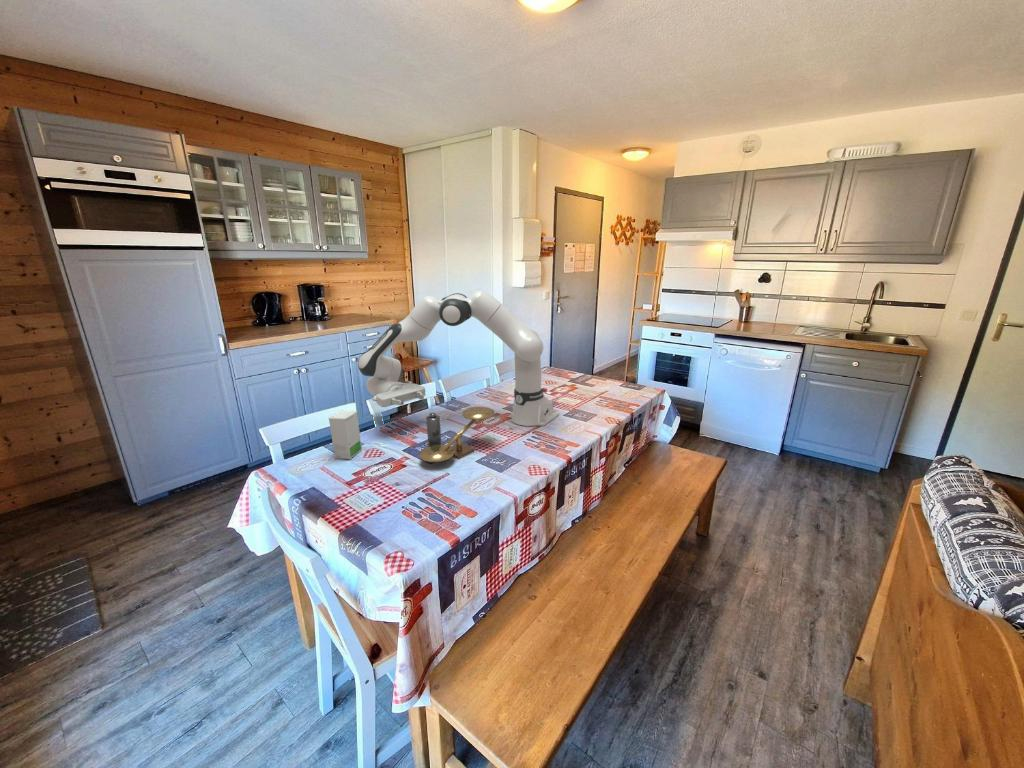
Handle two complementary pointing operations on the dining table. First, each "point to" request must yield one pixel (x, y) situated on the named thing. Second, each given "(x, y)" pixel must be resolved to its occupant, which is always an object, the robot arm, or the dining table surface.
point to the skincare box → (345, 434)
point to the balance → (456, 439)
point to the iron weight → (433, 429)
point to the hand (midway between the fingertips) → (412, 400)
